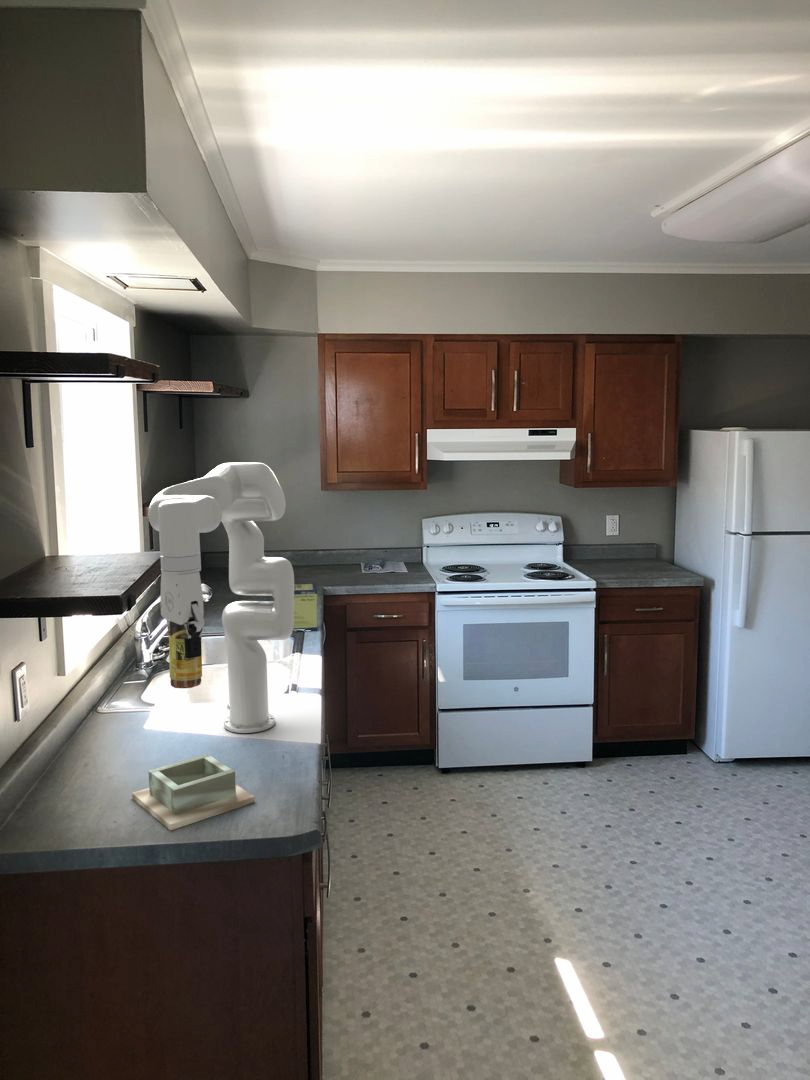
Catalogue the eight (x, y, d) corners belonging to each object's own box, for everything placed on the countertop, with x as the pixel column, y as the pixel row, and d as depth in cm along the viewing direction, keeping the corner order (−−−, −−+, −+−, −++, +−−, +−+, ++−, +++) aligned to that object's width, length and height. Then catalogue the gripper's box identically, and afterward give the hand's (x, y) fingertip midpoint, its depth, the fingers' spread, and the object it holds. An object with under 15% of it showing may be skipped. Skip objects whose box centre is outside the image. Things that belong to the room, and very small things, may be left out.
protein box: (318, 631, 306) (317, 588, 304) (274, 633, 304) (273, 590, 302) (317, 624, 317) (316, 583, 314) (275, 626, 314) (273, 584, 312)
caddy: (132, 798, 173) (130, 769, 172) (212, 774, 185) (211, 746, 184) (170, 830, 160) (168, 799, 159) (254, 802, 171) (253, 772, 170)
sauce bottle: (177, 692, 164) (171, 591, 161) (165, 684, 169) (159, 586, 166) (209, 685, 168) (204, 586, 165) (196, 678, 173) (191, 582, 170)
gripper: (144, 560, 169) (149, 648, 172) (182, 572, 156) (187, 666, 159) (179, 556, 174) (183, 641, 177) (219, 567, 161) (223, 659, 163)
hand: (185, 652), depth 168 cm, fingers closed on sauce bottle, 6 cm apart
